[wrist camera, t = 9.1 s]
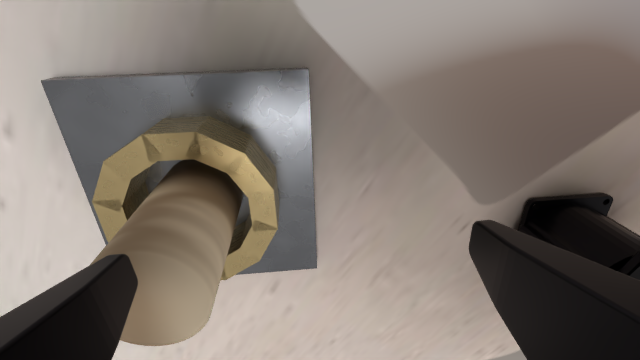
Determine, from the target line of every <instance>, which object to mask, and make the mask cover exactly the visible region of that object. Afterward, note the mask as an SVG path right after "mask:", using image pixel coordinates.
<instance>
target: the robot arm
mask: <svg viewBox="0 0 640 360" xmlns="http://www.w3.org/2000/svg"><path fill="white" fill-rule="evenodd" d="M612 202H613V198H612V197H611V196H609V195H607V194H591V195H576V196H562V197H547V198H533V199H530V200H529V201H528V202H527V203H526V205H525V209H524V212H523V215H522V219H521V222H520V226H519V229H518V231H517V230H514V229H512V228H510V227H507V226H505V225H502V224H500V223H497V222H495V221H492V220H483V221H476V222H475V223H474V224H473V226H472V232H471V237H470V243H469V253H470V256H471V258H472V260H473V262H474V264H475V266H476V268H477V271H478V273H479V275H480V277H481V279H482V281H483V283H484V285H485V287H486V289H487V292H488V294H489V296H490V298H491V300H492V302H493V304H494V306H495V307H496V309H497V311H498V313H499V314H500V316H501V318H502V319H503V321H504V323H505V324H506V326H507V327H508V329H509V331H510V332H511V334H512V336H513V337H514V339H515V340H516V342H517V344H518V345H519V347H520V349H521V350H522V352H523V354H524V355H525V357H526V358H527V360H640V236H639V235H638V234H636V233H634V232H633V231H631V230H629V229H628V228H626V227H624V226H622V225H621V224H619V223H617V222H616V221H614V220H612V219H611V218H609V217H607V213H608V211H609V209H610V206H611V204H612ZM534 205H535V206H534ZM137 287H138V278H137V275H136V273H135V271H134V268H133V266H132V263H131V261H130V258H129V256H128V255H126V254H113V255H107V256H105V257H104V258H102V259H100V260H98V261H97V262H95V263H93V264H92V265H90V266H88V267H86V268H85V269H83V270H81V271H79V272H78V273H76V274H74V275H72V276H71V277H69V278H67V279H66V280H64V281H62V282H60V283H59V284H57V285H55V286H53V287H52V288H50V289H48V290H46V291H45V292H43V293H41V294H39V295H38V296H36V297H34V298H33V299H31V300H29V301H27V302H26V303H24V304H22V305H20V306H19V307H17V308H15V309H13V310H12V311H10V312H8V313H6V314H5V315H3V316H1V317H0V360H112V357H113V355H114V353H115V350H116V348H117V346H118V343H119V340H120V338H121V335H122V332H123V329H124V326H125V323H126V320H127V317H128V314H129V311H130V308H131V305H132V302H133V299H134V296H135V293H136V290H137Z"/></svg>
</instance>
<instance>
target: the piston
mask: <svg viewBox="0 0 640 360" xmlns="http://www.w3.org/2000/svg"><path fill="white" fill-rule="evenodd" d="M242 199H243V191H242V190H241V189H240V188H239V187H238V185H237V184H236V183H235V182H234V181H233V179H232V178H231V177H230V176H229V175H228V174H227V173H225V172H223V171H221V170H218V169H216V168H214V167H211V166H209V165H206V164H204V163H202V162H199V161H197V160H195V159H187V160H182V161H180V162H178V163H177V164H175V165H174V166H173V167H172V168H171V169H170V170H169V172H168V173H167V174H166V175H165V176H164V178H163V179H162V180H161V181H160V182H159V184H158V185H157V186H156V187H155V188H154V189H153V191H152V192H151V193H150V194H149V195H148V197H147V198H146V199H145V200H144V201H143V203H142V204H141V205H140V206H139V207H138V208H137V210H136V211H135V212H134V213H133V214H132V216H131V217H130V218H129V219H128V220H127V222H126V223H125V224H124V225H123V226H122V228H121V229H120V230H119V231H118V232H117V233H116V235H115V236H114V237H113V238H112V239H111V241H110V242H109V243H108V244H107V245H106V247H105V248H104V249H103V250H102V251H101V252H100V254H99V255H98V256H97V257H96V258H95V260H94V261H93V262H92V263H91V264H90V265H92V264H93V263H95V262H97V261H98V260H100V259H102V258H104V257H105V256H107V255H113V254H126V255H128V256H129V258H130V261H131V263H132V266H133V268H134V271H135V273H136V275H137V278H138V287H137V290H136V293H135V296H134V299H133V302H132V305H131V308H130V311H129V314H128V317H127V320H126V323H125V326H124V329H123V332H122V335H121V338H120V340H121V341H124V342H128V343H132V344H137V345H145V346H163V345H170V344H174V343H178V342H181V341H184V340H186V339H188V338H190V337H192V336H194V335H195V334H197V333H198V332H199V331H200V330H201V329H202V328H203V327H204V326H205V325H206V323H207V322H208V320H209V318H210V315H211V312H212V308H213V304H214V301H215V297H216V294H217V290H218V286H219V283H220V279H221V276H222V272H223V268H224V265H225V261H226V258H227V254H228V250H229V247H230V243H231V240H232V236H233V232H234V229H235V225H236V221H237V218H238V214H239V211H240V207H241V203H242Z"/></svg>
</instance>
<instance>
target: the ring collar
mask: <svg viewBox="0 0 640 360" xmlns="http://www.w3.org/2000/svg"><path fill="white" fill-rule="evenodd" d="M41 83H42V85H43V88H44V90H45V93H46V95H47V98H48V100H49V103H50V105H51V108H52V110H53V113H54V115H55V118H56V120H57V123H58V125H59V128H60V130H61V133H62V135H63V138H64V140H65V143H66V145H67V148H68V150H69V153H70V155H71V158H72V161H73V163H74V166H75V168H76V171H77V173H78V176H79V178H80V181H81V183H82V186H83V188H84V191H85V193H86V196H87V198H88V201H89V203H90V206H91V208H92V211H93V213H94V216H95V218H96V221H97V223H98V226H99V228H100V231H101V233H102V236H103V238H104V241H105V244H106V245H107V244H108V243H109V242H110V241H111V239H112V238H113V237H114V236H115V235H116V233H117V232H118V231H119V230H120V229H121V228H122V226H123V225H124V224H125V223H126V222H127V220H128V219H129V218H130V217H131V216H132V214H133V213H134V212H135V211H136V210H137V208H138V207H139V206H140V205H141V204H142V203H143V201H144V200H145V199H146V198H147V197H148V195H149V194H150V193H151V192H152V191H153V189H154V188H155V187H156V186H157V185H158V184H159V182H160V181H161V180H162V179H163V178H164V176H165V175H166V174H167V173H168V172H169V170H170V169H171V168H172V167H173V166H174V165H175V164H177V163H178V162H180V161H182V160H187V159H195V160H197V161H199V162H202V163H204V164H206V165H209V166H211V167H214V168H216V169H218V170H221V171H223V172H225V173H227V174H228V175H229V176H230V177H231V178H232V179H233V181H234V182H235V183H236V184H237V185H238V187H239V188H240V189H241V190H242V191H243V199H242V203H241V207H240V211H239V214H238V218H237V221H236V225H235V229H234V232H233V236H232V240H231V243H230V247H229V250H228V254H227V258H226V261H225V265H224V268H223V272H222V276H221V279H220V280H227V279H228V278H230V277H232V276H234V275H238V274H250V273H263V272H276V271H288V270H301V269H313V268H317V256H316V232H315V209H314V185H313V161H312V137H311V114H310V90H309V69H308V68H287V69H262V70H237V71H212V72H187V73H162V74H137V75H112V76H87V77H62V78H50V79H46V80H41Z"/></svg>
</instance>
